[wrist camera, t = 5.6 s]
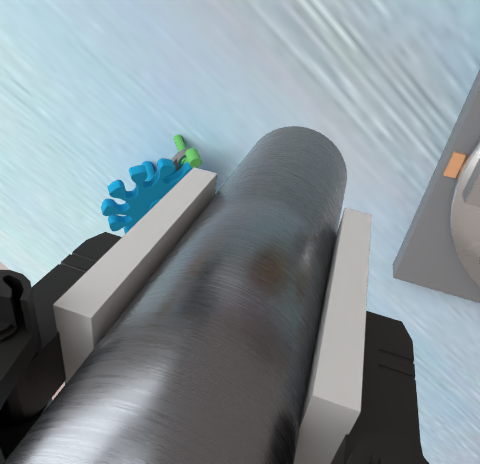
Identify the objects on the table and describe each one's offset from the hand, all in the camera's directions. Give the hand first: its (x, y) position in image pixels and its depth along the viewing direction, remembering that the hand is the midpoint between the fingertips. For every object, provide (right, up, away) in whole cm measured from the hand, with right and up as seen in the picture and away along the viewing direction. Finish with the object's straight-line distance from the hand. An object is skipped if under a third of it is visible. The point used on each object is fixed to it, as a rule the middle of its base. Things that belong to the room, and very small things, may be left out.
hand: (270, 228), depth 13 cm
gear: (-7, +5, +27) cm, 29 cm away
